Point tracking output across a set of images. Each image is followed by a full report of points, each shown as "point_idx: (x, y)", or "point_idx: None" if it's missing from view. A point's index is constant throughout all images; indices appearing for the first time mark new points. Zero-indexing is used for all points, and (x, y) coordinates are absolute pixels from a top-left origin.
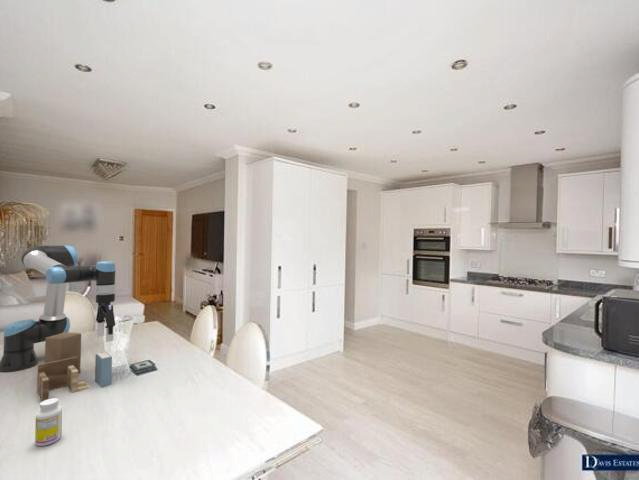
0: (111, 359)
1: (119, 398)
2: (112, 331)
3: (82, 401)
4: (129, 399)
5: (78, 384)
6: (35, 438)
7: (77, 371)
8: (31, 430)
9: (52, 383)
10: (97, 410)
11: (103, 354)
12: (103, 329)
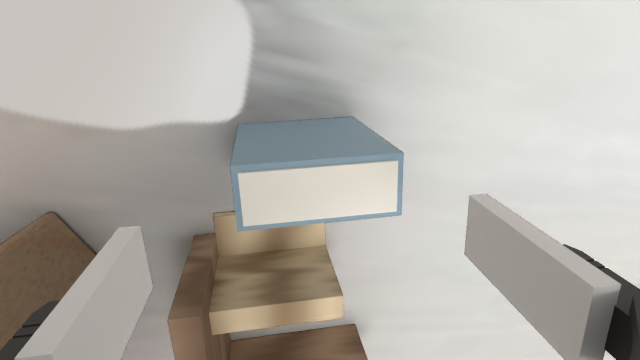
0: (396, 150)
1: (531, 123)
2: (596, 263)
3: (442, 235)
4: (573, 94)
5: (262, 238)
6: None
7: (342, 296)
8: (525, 352)
9: (225, 334)
10: (559, 204)
11: (309, 193)
12: (111, 280)
